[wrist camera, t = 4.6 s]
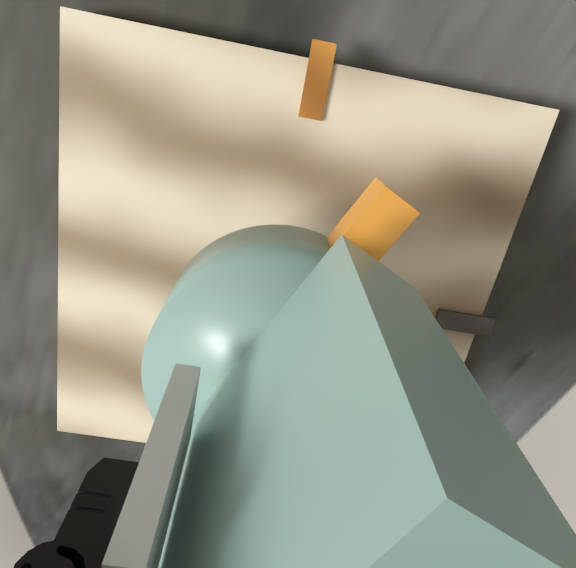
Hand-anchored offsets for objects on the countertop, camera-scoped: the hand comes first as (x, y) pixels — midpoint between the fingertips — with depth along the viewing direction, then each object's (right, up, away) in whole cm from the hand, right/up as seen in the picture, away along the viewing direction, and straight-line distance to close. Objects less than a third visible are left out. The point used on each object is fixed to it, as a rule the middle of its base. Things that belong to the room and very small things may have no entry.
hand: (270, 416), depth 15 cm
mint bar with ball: (+1, +3, +5) cm, 6 cm away
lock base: (0, +5, +11) cm, 12 cm away
